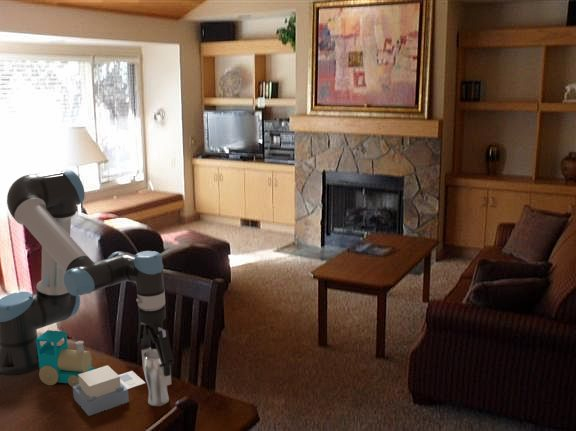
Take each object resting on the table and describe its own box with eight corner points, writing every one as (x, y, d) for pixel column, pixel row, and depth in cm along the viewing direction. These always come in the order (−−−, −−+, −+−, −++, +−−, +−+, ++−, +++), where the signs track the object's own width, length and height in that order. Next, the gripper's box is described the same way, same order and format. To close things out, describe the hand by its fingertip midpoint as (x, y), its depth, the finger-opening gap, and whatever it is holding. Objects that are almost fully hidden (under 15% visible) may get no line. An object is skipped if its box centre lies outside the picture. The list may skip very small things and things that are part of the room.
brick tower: (73, 398, 183) (71, 374, 181) (112, 385, 190) (110, 361, 188) (88, 416, 174) (85, 390, 172) (128, 401, 181) (126, 376, 179)
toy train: (89, 389, 188) (84, 343, 185) (39, 384, 192) (34, 339, 188) (101, 376, 196) (97, 332, 192) (54, 372, 199) (49, 329, 196)
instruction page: (111, 378, 195) (111, 377, 195) (132, 371, 199) (132, 370, 199) (124, 390, 187) (124, 389, 187) (145, 383, 191) (145, 382, 191)
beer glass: (142, 406, 178) (139, 358, 175) (151, 394, 185) (147, 347, 181) (166, 408, 177) (162, 360, 174) (173, 395, 184) (170, 348, 180)
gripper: (122, 297, 181) (127, 365, 186) (158, 322, 163) (163, 397, 168) (145, 291, 185) (150, 358, 191) (184, 315, 167) (188, 388, 172)
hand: (156, 376), depth 179 cm, fingers open, 11 cm apart
